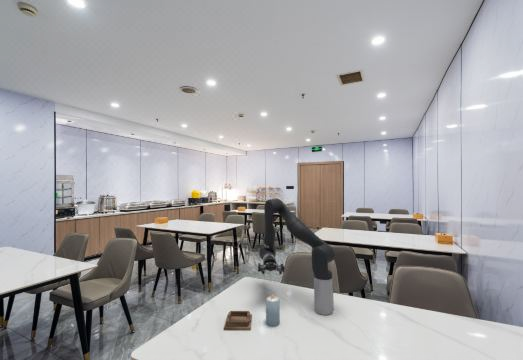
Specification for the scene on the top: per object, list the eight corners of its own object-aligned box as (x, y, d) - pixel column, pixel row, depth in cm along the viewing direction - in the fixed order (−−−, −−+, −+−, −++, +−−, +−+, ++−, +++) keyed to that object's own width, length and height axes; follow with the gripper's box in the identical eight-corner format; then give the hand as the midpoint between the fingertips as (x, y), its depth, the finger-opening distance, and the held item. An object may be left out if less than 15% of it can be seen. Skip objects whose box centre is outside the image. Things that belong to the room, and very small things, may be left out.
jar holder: (227, 316, 121) (227, 310, 121) (252, 316, 121) (252, 310, 121) (223, 330, 109) (223, 323, 109) (250, 330, 109) (250, 323, 109)
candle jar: (273, 318, 119) (273, 291, 120) (282, 323, 114) (282, 295, 115) (263, 322, 115) (263, 294, 115) (272, 328, 110) (272, 299, 111)
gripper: (257, 255, 142) (258, 265, 126) (281, 255, 142) (286, 265, 126) (257, 268, 142) (258, 280, 126) (281, 268, 143) (285, 280, 126)
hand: (272, 272), depth 126 cm, fingers open, 8 cm apart
